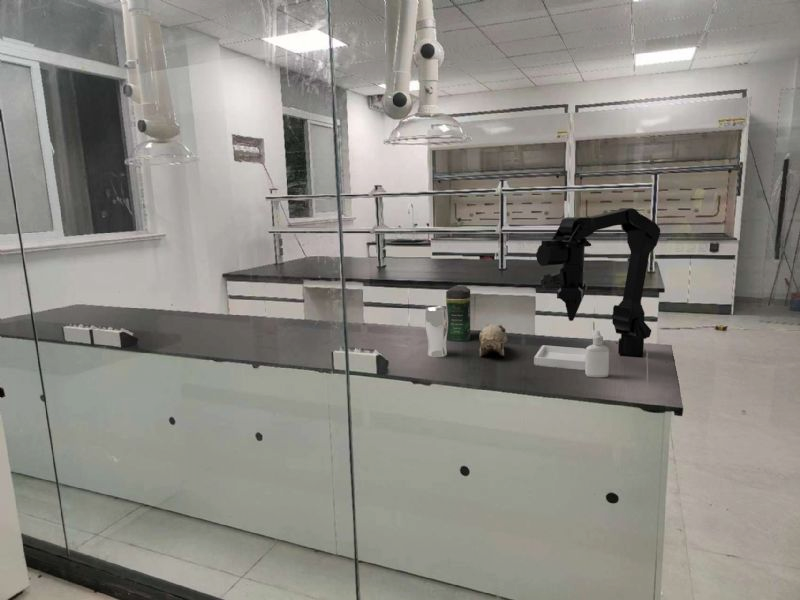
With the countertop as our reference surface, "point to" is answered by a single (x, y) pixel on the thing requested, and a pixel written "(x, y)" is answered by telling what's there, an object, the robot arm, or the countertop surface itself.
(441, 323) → the beer glass
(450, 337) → the coffee jar
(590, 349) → the eye dropper bottle
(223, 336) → the countertop surface
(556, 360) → the tray
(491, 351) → the animal skull replica
